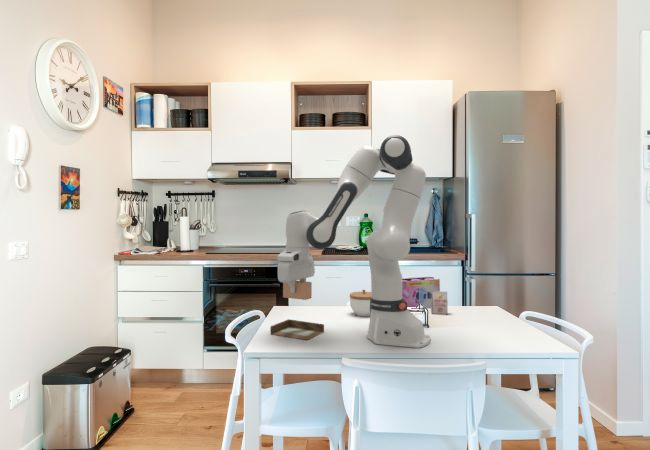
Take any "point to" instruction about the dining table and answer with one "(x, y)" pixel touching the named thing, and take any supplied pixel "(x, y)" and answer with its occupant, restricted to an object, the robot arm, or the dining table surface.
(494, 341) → the dining table surface
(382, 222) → the robot arm
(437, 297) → the small beige carton
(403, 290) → the gum box
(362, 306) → the lidded bowl
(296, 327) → the brown wooden flat frame
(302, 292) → the terracotta block
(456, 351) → the dining table surface
